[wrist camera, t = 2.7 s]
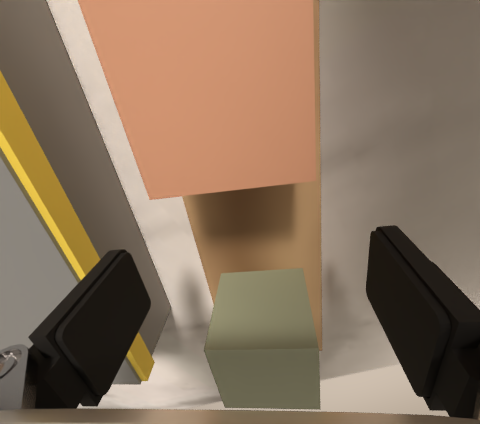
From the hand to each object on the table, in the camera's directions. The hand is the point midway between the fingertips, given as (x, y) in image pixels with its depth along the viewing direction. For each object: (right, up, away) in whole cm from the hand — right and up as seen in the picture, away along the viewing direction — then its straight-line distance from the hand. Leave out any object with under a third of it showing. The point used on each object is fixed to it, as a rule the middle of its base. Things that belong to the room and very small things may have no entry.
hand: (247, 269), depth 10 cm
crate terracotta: (-1, +7, 0) cm, 7 cm away
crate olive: (+1, -3, +5) cm, 6 cm away
